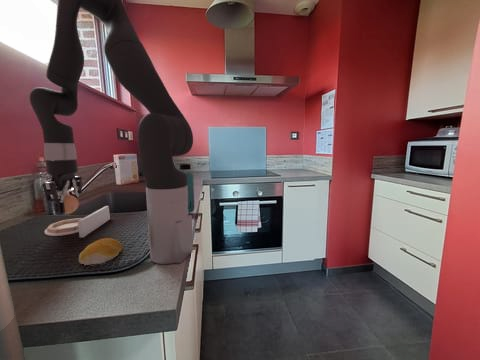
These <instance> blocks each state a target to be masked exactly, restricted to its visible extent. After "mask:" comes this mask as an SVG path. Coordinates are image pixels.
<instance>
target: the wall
mask: <svg viewBox="0 0 480 360" xmlns="http://www.w3.org/2000/svg"><path fill="white" fill-rule="evenodd" d="M110 215H111V214H110V206H109V205H105V206H103V207H102V208H100V209H97V210H95V211H93V212H92V213H90V214H88V215H87V216H85V217H82V218H83V219H81V220H79V221H78V228H79V232H78V236H79V238H85V237H86V236H87V235H89V234H90V233H92V232H93V231H95V230H97V229H98V228H99V227H101V226H102V225H104V224H105V223H107V222H108V221H109V220H110V219H111V217H110Z"/></svg>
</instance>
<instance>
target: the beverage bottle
mask: <svg viewBox="0 0 480 360" xmlns="http://www.w3.org/2000/svg"><path fill="white" fill-rule="evenodd" d="M191 169H192V167H191V163H180V164H179V171H183V172H184V173H186V175H187V186H188V214H190V213H193V212H194V211H195V188H194V187H195V186H194V185H195V182H194V180H195V179H194V174H193V173H191V171H190V172H188V171H187V170H191Z"/></svg>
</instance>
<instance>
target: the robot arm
mask: <svg viewBox="0 0 480 360" xmlns="http://www.w3.org/2000/svg"><path fill="white" fill-rule="evenodd" d="M80 9H82V10H84V11H85V12H87V13H88V14H90V15H92V16H94V17H95V18H96V19H98V20H99V21H100V22H101V23H102V24H103V26H104V28H105V29H106V32H107V35H106V38H105V41H104V42H103V43H104V44H103V52H104V55H105V58H106V60H107V63H108V65H109V67H110V69H111V71H112V73H113V75H114V76H115V78H116V80H117V81H118V82H119V83H120V85H121V86H122V87H123V88H124V90H126V91H127V92H129V94H130V95H132V96H133V98H135V99H136V100H137V101H138V102H139V103H140V104H141V105H142V106H143V107H144V108H145V109H146V110H147V112H149V113H146V114H145V115H143V117H142V118H141V119H140V122H139V124H138V126H137V143H138V144H137V146H138V152H139V153H138V154H139V162H140V169H141V174H142V176H143V179H144V181H145V194H146V214H147V228H148V242H149V245H148V246H149V257H150V261H151V262H152V263H156V264H158V265H159V264H160V265H169V264H174V263H176V264H181V263H182V262H183V261H185V260H186V258H187V257H188V256H190V255H191V253H192V252H194V249H193V248H194V244H193V243H194V241H193V238H194V236H193V217H192V215H191V214H189V213H188V186H187V175H186V173H184V172H185V171H183V170H180V169H177V168H176V166H175V164H174V160H173V157H178V156H184V155H186V154H188V153H189V152H190V151H191V150H192V148H193V144H194V134H193V130H192V128H191V126H190V123H189V122H188V120H187V119H186V117H185V116H184V114H183V113H182V111H181V110H180V108H179V107H178V106H177V104H176V102H175V101H174V100H173V98H172V97H171V95H170V93H169V91H168V90H167V88H166V86H165V84H164V82H163V80H162V78H161V77H160V76H159V73H158V72H157V70H156V68H155V65H154V63H153V62H152V60H151V58H150V56H149V54H148V51H147V50H146V48H145V47H144V45H143V43H142V41H141V40H140V37H139V36H138V34H137V32H136V30H135V28H134V26H133V24H132V23H131V19H130V18H129V15H128V14H127V10H126V8H125V5H124V3H123V0H57V7H56V16H55V17H56V19H55V30H54V33H55V34H54V40H53V47H52V50H51V53H50V58H49V61H48V65H47V68H46V74H45V77H46V78H47V80H49V82H51V83H52V84H53V85H56V86H58V87H61V88H60V90H57V89H56V90H55V89H51V88H47V87H41V86H38V87H34V88H33V89H32V90H31V92H30V93H29V102H30V105H31V108H32V110H33V112H34V113H35V116H36V118H37V120H38V122H39V125H40V127H41V130H42V136H43V144H44V145H43V148H44V149H43V152H44V162H45V170H46V174H47V175H50V176H51V178H50V181H46V182H45V181H44V182H43V183H42V188H43V191H44V196H45V199H46V202H47V203H53V205H54V213H55V215H57V216H59V215H60V216H61V215H65V208H64V202H63V200H64V196H65V195H72V196H74V197H76V198H77V200H78V201H79V199H78V197H80V195H81V194H82V193H83V184H82V183H83V182H82V181H83V180H82V176H80V175H75V174H78V173H79V167H78V157H77V150H76V146H75V142H74V141H75V139H74V130H73V127H72V126H71V125H70V124H68V123H63V122H61V121H59V120H58V119H57V118H56V116H61V117H70V116H73V115H74V114H75V113H76V112H77V110H78V107H79V105H78V93H79V92H78V91H79V90H78V85H79V81H80V79H81V76H82V73H83V70H84V66H85V54H84V50H83V46H82V43H81V40H80V35H79V31H78V15H79V12H80Z"/></svg>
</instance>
